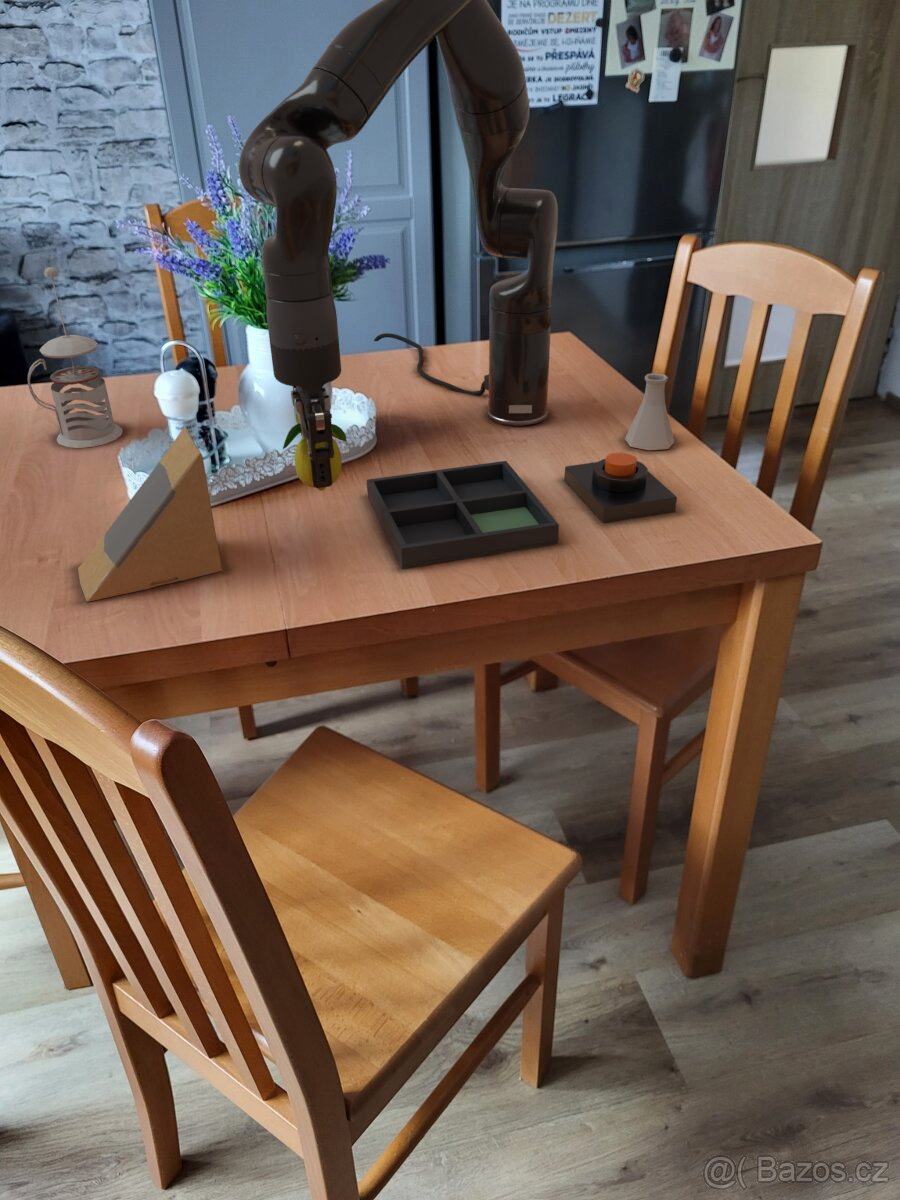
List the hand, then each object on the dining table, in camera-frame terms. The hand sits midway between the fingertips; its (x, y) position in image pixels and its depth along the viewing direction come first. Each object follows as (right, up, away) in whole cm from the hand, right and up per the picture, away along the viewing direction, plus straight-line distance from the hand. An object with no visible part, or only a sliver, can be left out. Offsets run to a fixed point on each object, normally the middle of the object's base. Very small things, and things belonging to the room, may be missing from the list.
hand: (318, 474), depth 111 cm
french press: (-41, +10, +32) cm, 53 cm away
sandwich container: (-20, -12, -2) cm, 23 cm away
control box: (+38, -1, +12) cm, 40 cm away
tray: (+17, -5, +7) cm, 19 cm away
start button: (+38, +2, +10) cm, 39 cm away
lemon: (0, -2, +1) cm, 2 cm away
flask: (+45, +8, +27) cm, 53 cm away
